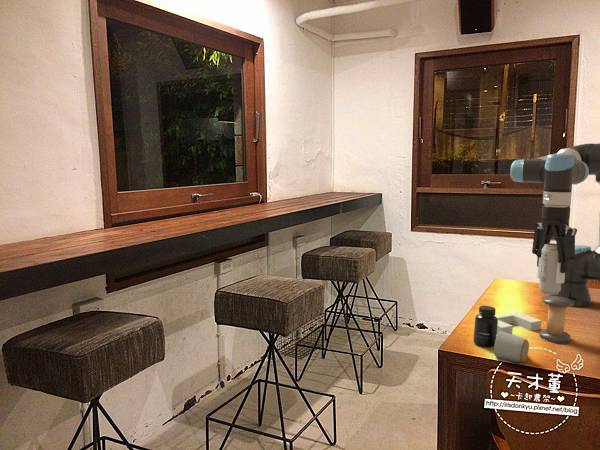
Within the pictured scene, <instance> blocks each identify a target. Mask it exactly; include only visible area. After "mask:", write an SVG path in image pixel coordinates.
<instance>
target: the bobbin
mask: <svg viewBox="0 0 600 450" xmlns="http://www.w3.org/2000/svg"><path fill="white" fill-rule="evenodd" d="M541 302H542V303H543V304H545V305H548V310H547V321H546V322H547V323H546V328H544V329H542V328H541V329H539V337H541V338H540V339H542V338H543V339H545V340H544V341H546V340H547V341H546V342H549V341H550V343H554V344H568V343H570V342H571V334H570V333H568V332H566V331H565V322H566V310H567V308H571V307H574V306H573V301H572V300H571V299H568V298H564V297H559V296H549V295H546V296H545V295H544V296H543V297H541ZM543 339H542V340H543Z"/></svg>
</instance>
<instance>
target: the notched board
mask: <svg viewBox="0 0 600 450" xmlns="http://www.w3.org/2000/svg"><path fill="white" fill-rule="evenodd" d="M495 316H496V317H497V319H498V327H497V335H498V333H499V332H500V331H502V332H506V333H509V334H512V335H513V327H514V325H515V326H518V327H521V328H522V327H523V329H525V330H527V329H528V331H530V330H533V331H537V329H538V330H542V320H541V319H538V318H536V317H533V316H531V315H527V314H524V313H522V312H520V311H518V312H511V313H506V314H498V315H495ZM512 324H513V325H512Z"/></svg>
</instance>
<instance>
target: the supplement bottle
mask: <svg viewBox="0 0 600 450" xmlns="http://www.w3.org/2000/svg"><path fill="white" fill-rule="evenodd" d="M478 309H479V310H478V314H476V315H475V318H474V327H473V328H474V329H473V343H474V344H475V345H477V346H479V347H480V348H494V346H495V341H496V337H497V327H498V319H497V317H496V316H497V315H496V307H493V306H491V305H481V306H479V308H478Z"/></svg>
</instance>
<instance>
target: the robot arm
mask: <svg viewBox="0 0 600 450" xmlns="http://www.w3.org/2000/svg"><path fill="white" fill-rule="evenodd" d="M509 174H510V179H511V180H512V181H513V182H515V183H516V182H518V183H523V184H524V183H528V184H529V183H531V184H533V183H534V184H538V183H539V184H543V192H542V204H543V206H542V207H541V217H542V220H541V222H535V223H533V228H534V233H533V241H532V249H531V253H532V254H533V255H535V256H536V257H537V258H536V267H537V268H538V269H537V279H540V267H541V253H542V248H543V247H544V244H546V243H551V240H552V238H554V241H555V242H556V243H555V244H557V249H558V254H559V260H560V261H558V262H557V271H556V283H557V284H559V283H561V291H560V292H559V293H558V294H556V295H550V294H548V296H559V297H564V298H568V299H571V300H572V301H573V306H572V307H577V308H579V307H580V308H581V307H589V306H591V304H592V297H591V294H590V290H589V286H588V283H589V281H595V282H600V212H599V215H598V216H599V217H598V218H599V220H598V221H599V224H598V226H599V227H598V245H596V246H595V247H594V248H593V250H592V247H591V246H590V245H585V244H582V245H580V244H579V245H578V244H576V235H577V232H578V229H577V228H576V227H572V226H570V225H569V222H568V221H569V219H570V214H571V208H570V206H571V204H572V203H571V202H572V191H573V190H572V189H573V185H574V186H575V185H578V184H580V183H583V182H584V181H586V180H587V179H588V177H589V176H595V182H596V183H597V184H598V185H600V143H598V142H597V143H583V144H579V145H573V146H570V147H566V148H565V147H564V148H562V149H560V150H559V151H558V152H557V153H552V154H551V153H550V154H548V155H545V156H540V157H536V158H531V159H524V158H523V159H515V160H514V161H513V162H512V163H511V165H510V172H509ZM588 280H589V281H588Z"/></svg>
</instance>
